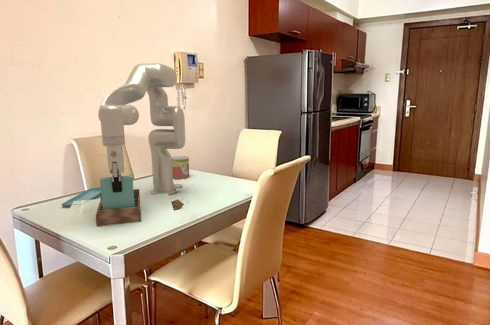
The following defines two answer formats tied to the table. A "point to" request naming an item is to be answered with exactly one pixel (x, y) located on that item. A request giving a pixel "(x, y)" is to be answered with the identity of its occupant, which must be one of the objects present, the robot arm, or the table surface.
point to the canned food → (180, 167)
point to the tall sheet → (117, 193)
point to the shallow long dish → (83, 197)
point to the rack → (119, 213)
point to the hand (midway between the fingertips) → (117, 190)
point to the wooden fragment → (176, 204)
